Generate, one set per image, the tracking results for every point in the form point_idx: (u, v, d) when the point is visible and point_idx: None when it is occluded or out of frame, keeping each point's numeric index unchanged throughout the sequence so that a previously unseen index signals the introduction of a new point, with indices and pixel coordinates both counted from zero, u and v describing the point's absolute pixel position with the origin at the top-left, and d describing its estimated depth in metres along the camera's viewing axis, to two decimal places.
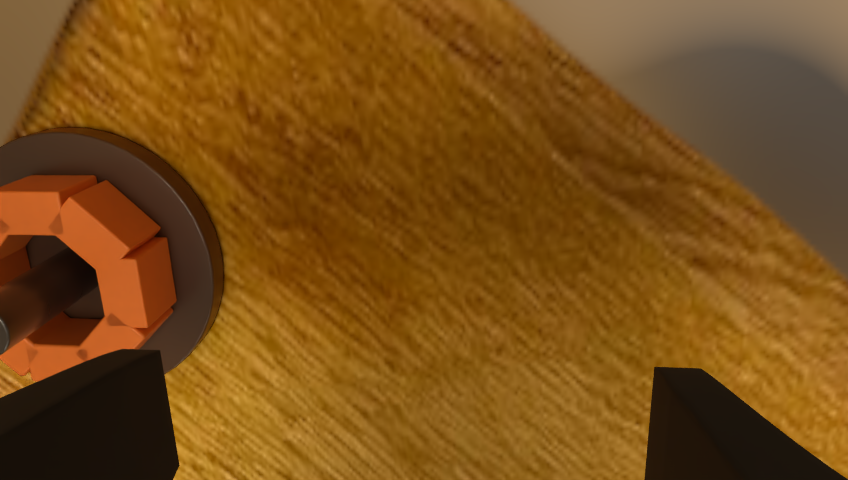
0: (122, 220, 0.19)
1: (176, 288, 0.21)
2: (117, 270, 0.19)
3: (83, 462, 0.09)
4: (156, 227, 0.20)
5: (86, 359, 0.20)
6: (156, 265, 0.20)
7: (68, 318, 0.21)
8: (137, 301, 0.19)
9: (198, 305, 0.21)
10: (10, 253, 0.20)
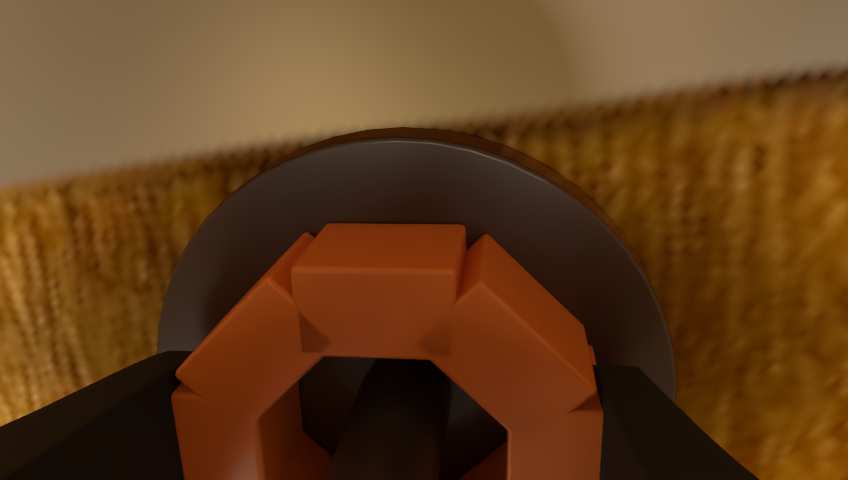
0: None
1: None
2: None
3: (138, 465, 0.09)
4: None
5: None
6: None
7: (302, 433, 0.11)
8: None
9: None
10: None
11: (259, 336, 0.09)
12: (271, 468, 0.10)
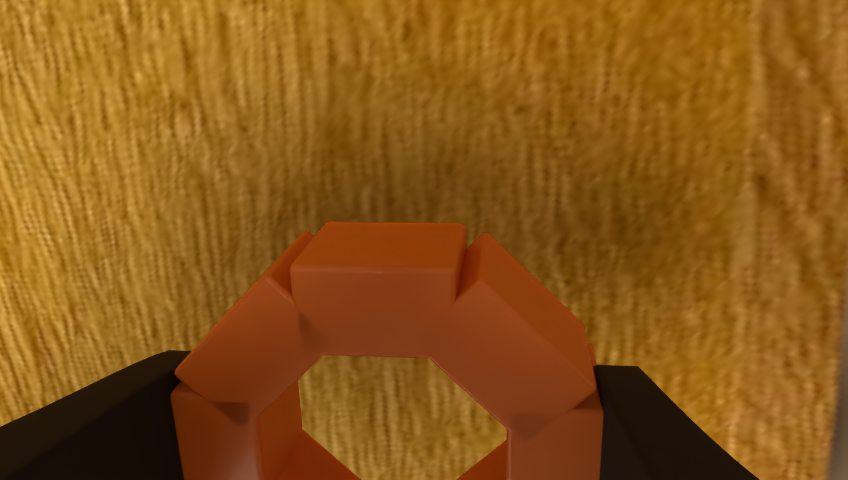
0: None
1: None
2: None
3: (138, 466, 0.09)
4: None
5: None
6: None
7: (302, 432, 0.11)
8: None
9: None
10: None
11: (258, 334, 0.09)
12: (270, 467, 0.10)
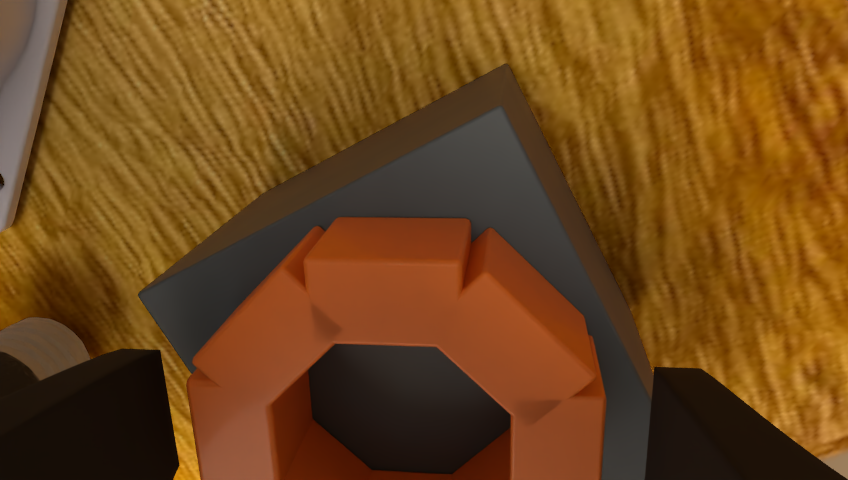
0: None
1: None
2: None
3: (83, 463, 0.09)
4: None
5: None
6: None
7: (312, 420, 0.12)
8: None
9: None
10: None
11: (273, 324, 0.09)
12: (283, 452, 0.10)
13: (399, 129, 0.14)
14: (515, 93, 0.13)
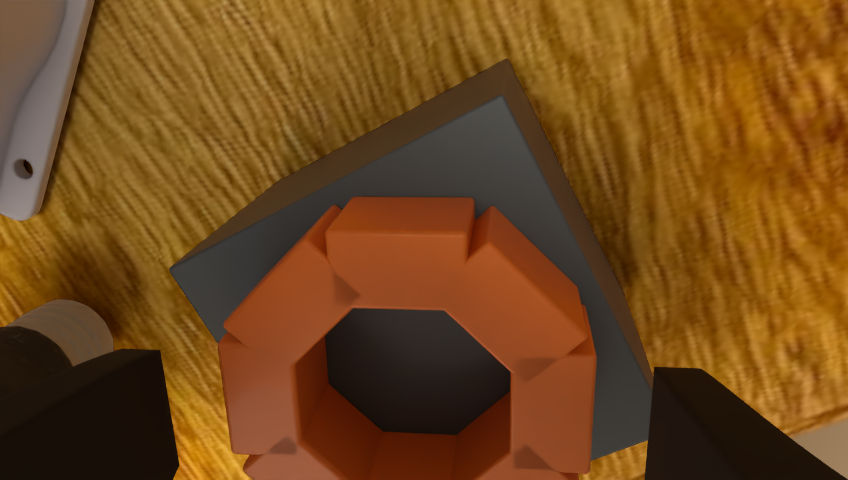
0: None
1: None
2: (539, 478, 0.11)
3: (83, 463, 0.09)
4: None
5: None
6: None
7: (328, 385, 0.13)
8: None
9: None
10: None
11: (297, 290, 0.10)
12: (304, 410, 0.11)
13: (407, 119, 0.15)
14: (515, 86, 0.14)
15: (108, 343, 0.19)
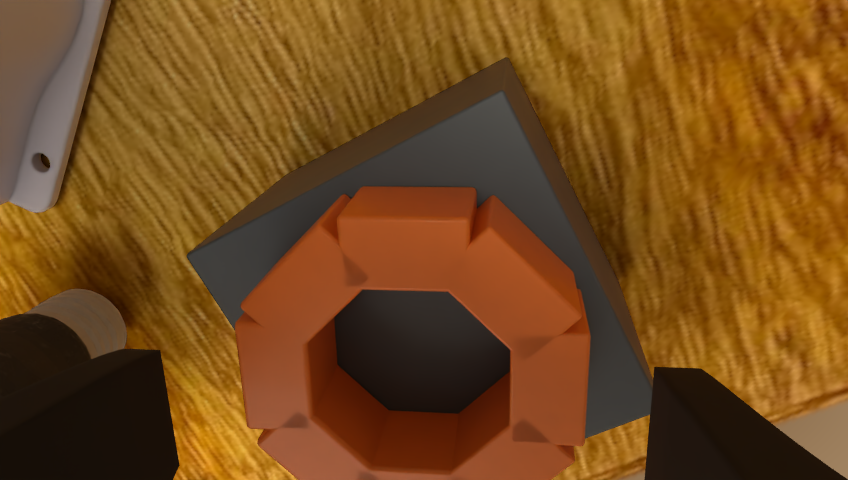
0: None
1: None
2: (537, 451, 0.11)
3: (82, 463, 0.09)
4: None
5: None
6: None
7: (337, 366, 0.13)
8: None
9: None
10: None
11: (310, 273, 0.11)
12: (315, 387, 0.12)
13: (411, 115, 0.16)
14: (514, 83, 0.15)
15: (121, 331, 0.20)
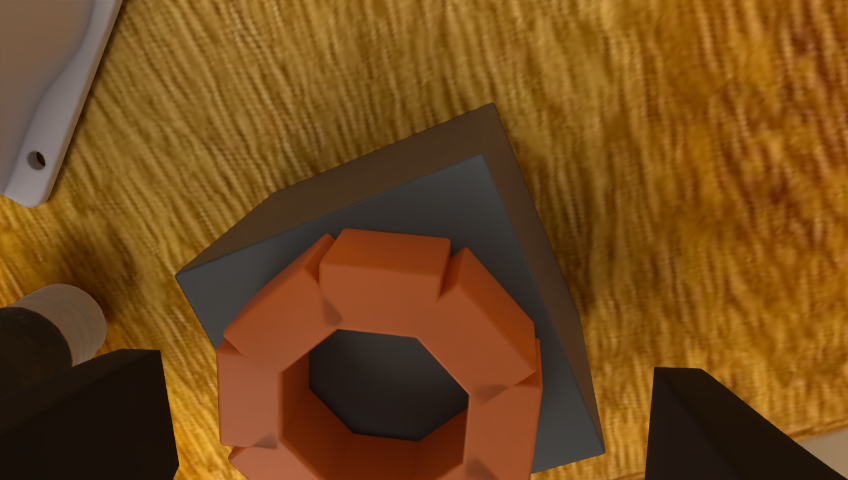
0: None
1: None
2: None
3: (83, 462, 0.09)
4: None
5: None
6: None
7: (308, 389, 0.14)
8: None
9: None
10: None
11: (291, 310, 0.12)
12: (287, 411, 0.13)
13: (397, 153, 0.17)
14: (496, 133, 0.16)
15: (102, 327, 0.20)
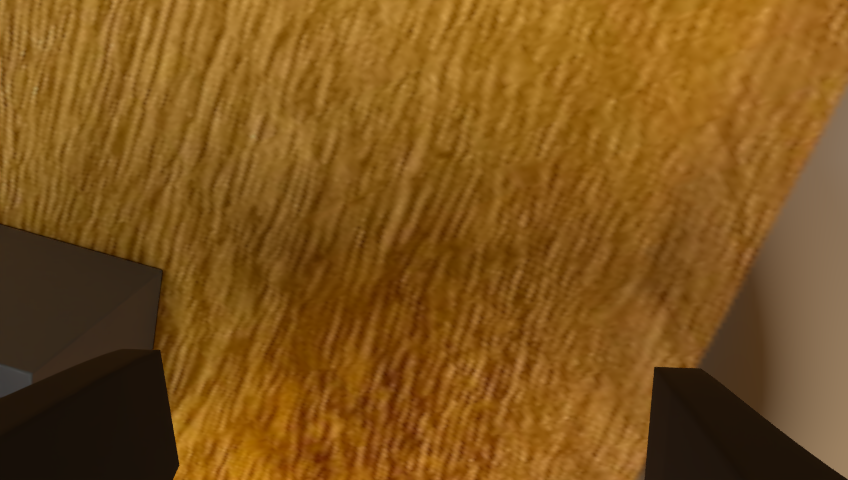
0: None
1: None
2: None
3: (82, 463, 0.09)
4: None
5: None
6: None
7: None
8: None
9: None
10: None
11: None
12: None
13: (42, 275, 0.19)
14: (121, 314, 0.19)
15: None
